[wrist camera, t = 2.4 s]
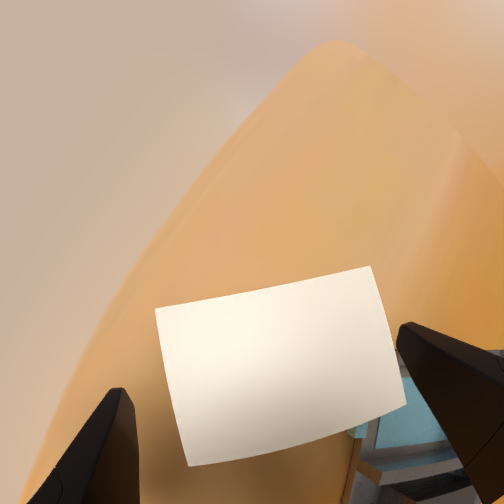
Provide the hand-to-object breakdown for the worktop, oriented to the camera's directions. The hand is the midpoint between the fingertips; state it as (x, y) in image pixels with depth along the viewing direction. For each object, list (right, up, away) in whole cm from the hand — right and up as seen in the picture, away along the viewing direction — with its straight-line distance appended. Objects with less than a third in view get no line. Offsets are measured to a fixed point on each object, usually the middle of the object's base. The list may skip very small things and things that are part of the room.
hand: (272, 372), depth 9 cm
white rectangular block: (-1, -3, +8) cm, 8 cm away
